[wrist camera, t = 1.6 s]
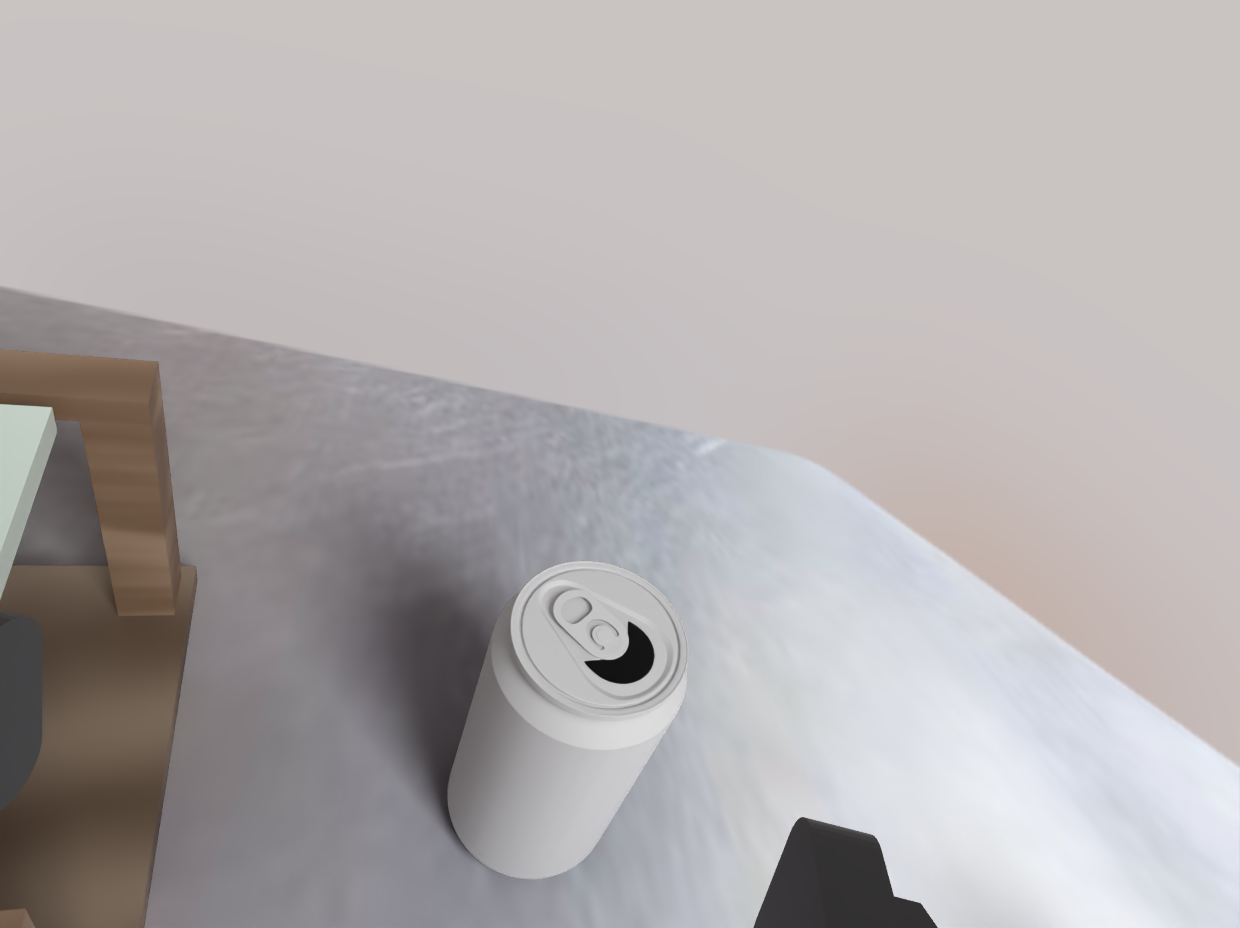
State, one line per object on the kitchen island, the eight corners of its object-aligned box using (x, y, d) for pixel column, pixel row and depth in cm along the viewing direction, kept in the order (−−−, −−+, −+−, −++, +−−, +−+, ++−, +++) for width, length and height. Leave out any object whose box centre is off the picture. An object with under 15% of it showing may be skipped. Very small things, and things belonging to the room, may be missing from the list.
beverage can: (529, 926, 31) (619, 772, 23) (408, 801, 33) (453, 619, 25) (633, 805, 35) (739, 641, 27) (521, 700, 37) (590, 519, 29)
